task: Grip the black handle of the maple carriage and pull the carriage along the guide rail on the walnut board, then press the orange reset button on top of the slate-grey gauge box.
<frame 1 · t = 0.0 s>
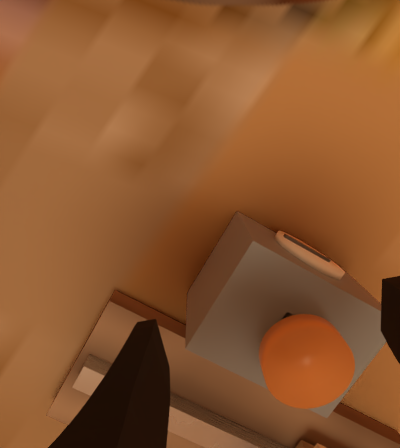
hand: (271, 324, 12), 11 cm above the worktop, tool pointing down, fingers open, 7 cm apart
reset button: (300, 351, 16), point 7 cm above the worktop, slide at 0.0 cm
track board: (230, 415, 25), on the worktop
gauge box: (267, 283, 23), on the worktop
guide rail: (233, 440, 23), on the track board, point 2 cm above the worktop
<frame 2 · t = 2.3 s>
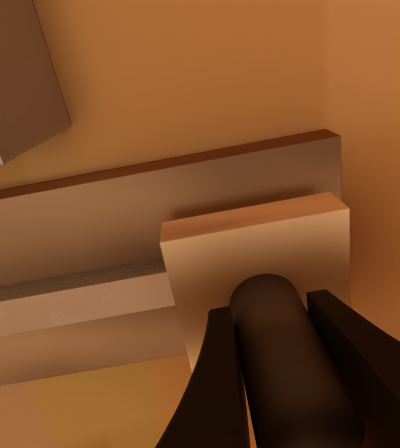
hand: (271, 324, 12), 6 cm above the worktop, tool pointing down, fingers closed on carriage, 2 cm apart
carriage: (271, 324, 12), point 6 cm above the worktop, slide at 0.0 cm, touching gripper
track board: (94, 270, 17), on the worktop
guide rail: (83, 296, 15), on the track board, point 2 cm above the worktop
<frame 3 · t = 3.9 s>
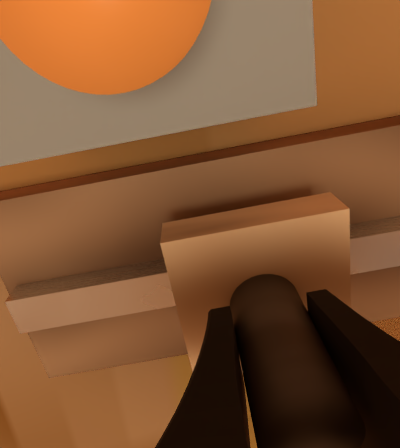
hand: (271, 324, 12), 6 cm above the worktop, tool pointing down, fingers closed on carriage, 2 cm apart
carriage: (271, 324, 12), point 6 cm above the worktop, slide at 7.7 cm, touching gripper
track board: (257, 241, 17), on the worktop
gauge box: (145, 23, 13), on the worktop
guide rail: (267, 263, 15), on the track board, point 2 cm above the worktop
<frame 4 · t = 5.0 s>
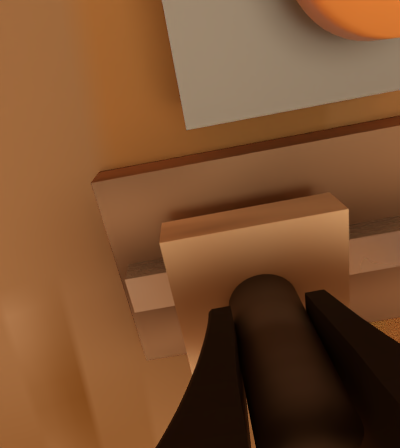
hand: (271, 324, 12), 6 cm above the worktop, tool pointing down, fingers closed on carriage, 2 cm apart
carriage: (270, 324, 12), point 6 cm above the worktop, slide at 12.5 cm, touching gripper
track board: (362, 222, 17), on the worktop
guide rail: (385, 242, 15), on the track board, point 2 cm above the worktop
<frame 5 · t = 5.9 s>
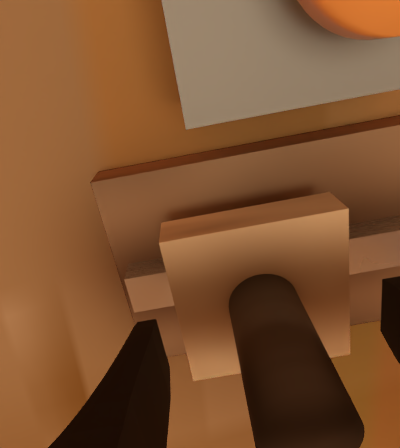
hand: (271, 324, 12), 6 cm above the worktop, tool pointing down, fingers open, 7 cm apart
carriage: (270, 324, 12), point 6 cm above the worktop, slide at 12.5 cm
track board: (361, 222, 17), on the worktop
guide rail: (385, 242, 15), on the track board, point 2 cm above the worktop
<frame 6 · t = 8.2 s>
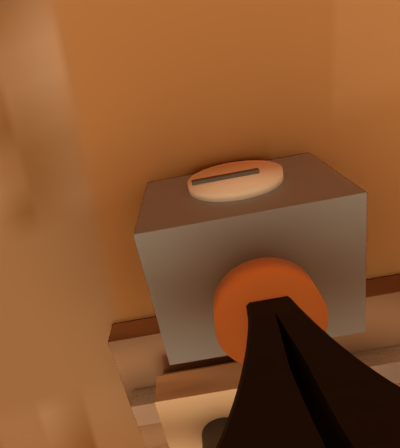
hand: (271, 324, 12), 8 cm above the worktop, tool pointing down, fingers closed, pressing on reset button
reset button: (263, 301, 13), point 7 cm above the worktop, slide at -0.3 cm, touching gripper
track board: (304, 351, 23), on the worktop
gauge box: (236, 222, 19), on the worktop
guide rail: (315, 377, 21), on the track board, point 2 cm above the worktop
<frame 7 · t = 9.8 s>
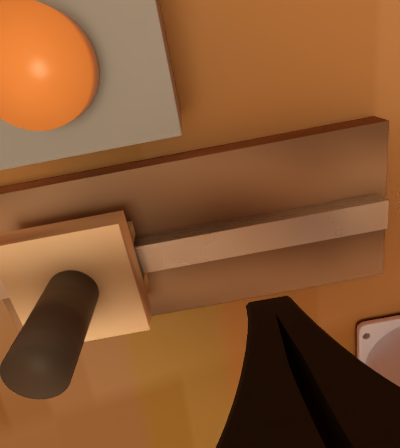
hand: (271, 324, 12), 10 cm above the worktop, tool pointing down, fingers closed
carriage: (66, 306, 16), point 6 cm above the worktop, slide at 12.5 cm
reset button: (43, 68, 12), point 6 cm above the worktop, slide at -1.0 cm
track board: (185, 229, 21), on the worktop
gauge box: (86, 65, 18), on the worktop
guide rail: (186, 246, 19), on the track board, point 2 cm above the worktop
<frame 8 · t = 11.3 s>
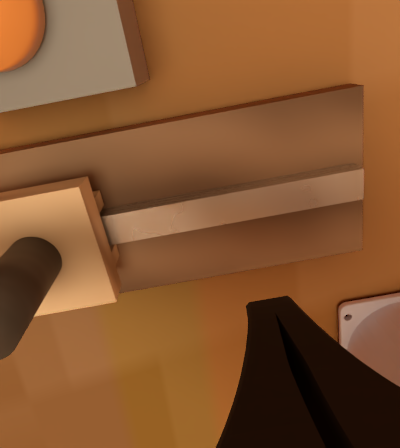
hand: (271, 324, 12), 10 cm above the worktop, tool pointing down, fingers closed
carriage: (25, 272, 16), point 6 cm above the worktop, slide at 12.5 cm
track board: (158, 203, 21), on the worktop
gauge box: (51, 27, 17), on the worktop
guide rail: (156, 217, 19), on the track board, point 2 cm above the worktop
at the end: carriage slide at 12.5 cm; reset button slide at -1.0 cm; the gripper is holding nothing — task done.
